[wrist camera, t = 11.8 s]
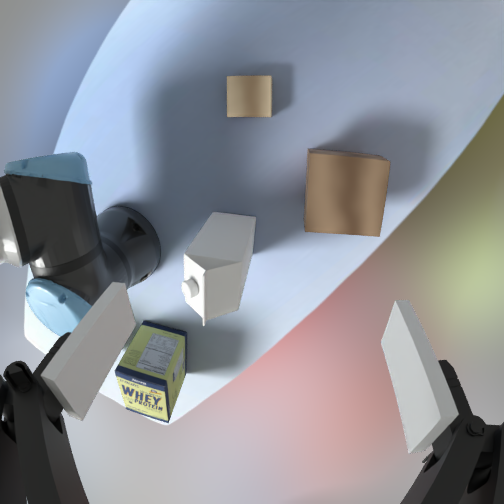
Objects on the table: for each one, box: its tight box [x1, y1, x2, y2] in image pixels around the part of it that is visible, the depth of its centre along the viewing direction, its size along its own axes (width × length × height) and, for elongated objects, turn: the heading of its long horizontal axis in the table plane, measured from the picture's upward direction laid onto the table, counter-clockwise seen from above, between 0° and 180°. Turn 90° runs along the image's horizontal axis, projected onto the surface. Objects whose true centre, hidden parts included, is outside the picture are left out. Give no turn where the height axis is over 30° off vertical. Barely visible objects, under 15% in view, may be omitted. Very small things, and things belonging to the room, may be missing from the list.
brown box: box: [304, 149, 390, 237], centre depth 36 cm, size 10×10×4 cm
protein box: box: [115, 321, 187, 423], centre depth 58 cm, size 10×16×16 cm
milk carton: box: [181, 212, 256, 326], centre depth 41 cm, size 7×7×19 cm
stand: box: [227, 76, 272, 117], centre depth 37 cm, size 6×6×3 cm
